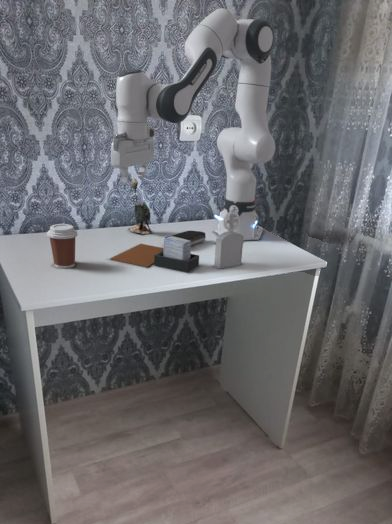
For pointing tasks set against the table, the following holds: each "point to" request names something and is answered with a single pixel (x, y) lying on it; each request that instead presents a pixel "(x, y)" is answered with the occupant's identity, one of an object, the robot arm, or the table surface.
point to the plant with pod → (140, 214)
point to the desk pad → (139, 255)
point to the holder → (176, 262)
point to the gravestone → (229, 243)
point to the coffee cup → (63, 244)
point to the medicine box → (177, 248)
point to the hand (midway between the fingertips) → (134, 180)
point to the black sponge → (191, 236)
